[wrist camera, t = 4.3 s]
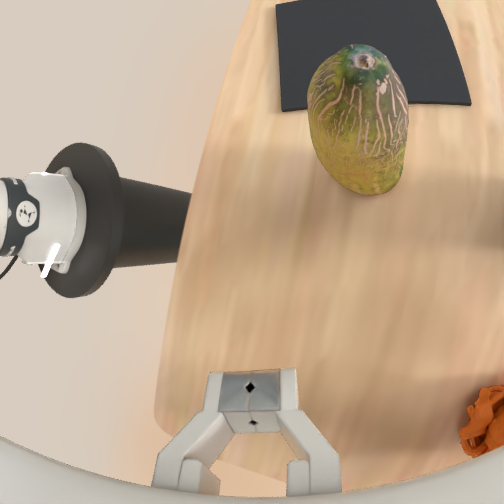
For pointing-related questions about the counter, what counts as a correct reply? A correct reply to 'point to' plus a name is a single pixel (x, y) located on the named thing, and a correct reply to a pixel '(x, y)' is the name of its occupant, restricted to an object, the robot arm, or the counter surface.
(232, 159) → the counter surface
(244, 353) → the counter surface
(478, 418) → the toy dinosaur
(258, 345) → the counter surface
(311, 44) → the mat
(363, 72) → the vegetable
